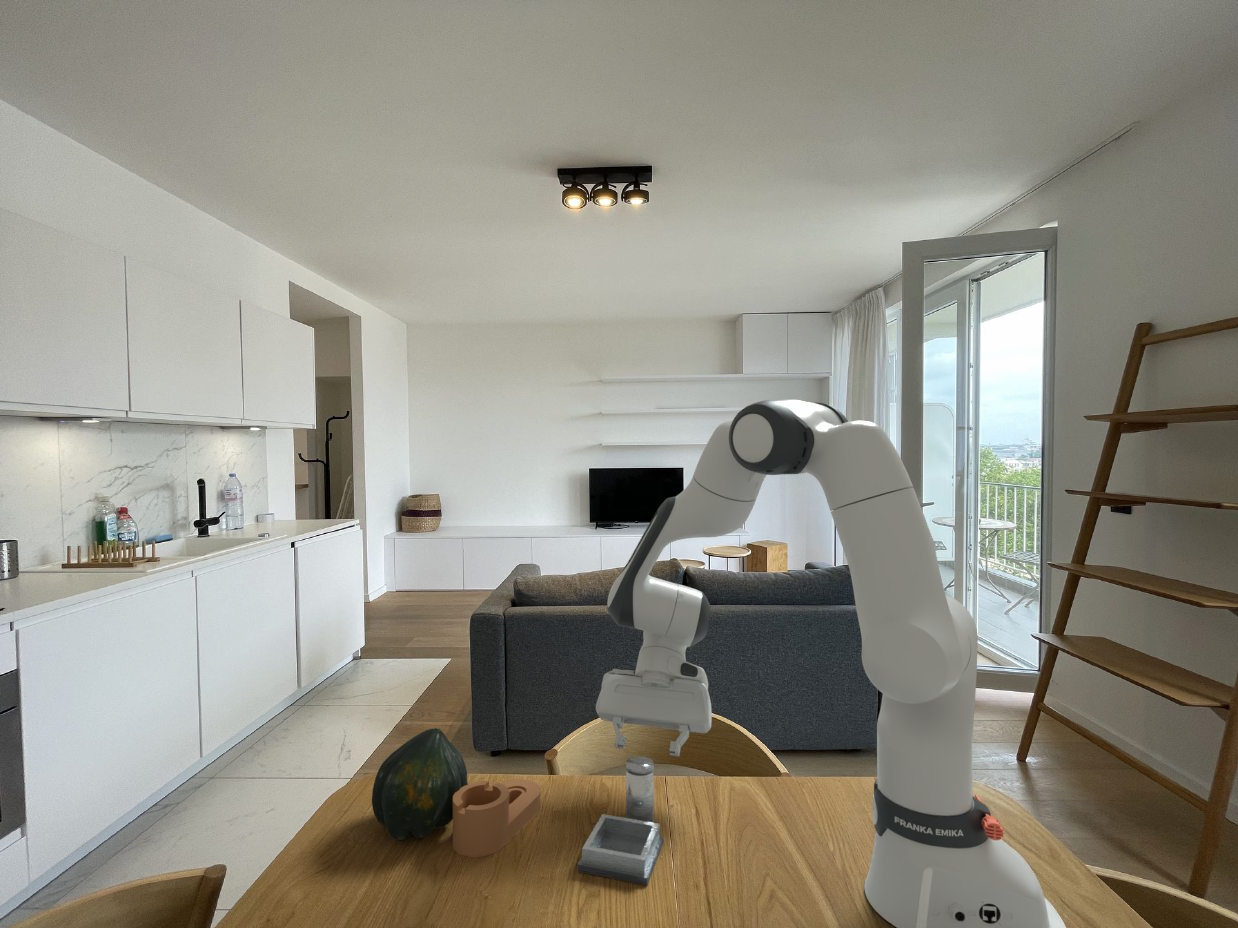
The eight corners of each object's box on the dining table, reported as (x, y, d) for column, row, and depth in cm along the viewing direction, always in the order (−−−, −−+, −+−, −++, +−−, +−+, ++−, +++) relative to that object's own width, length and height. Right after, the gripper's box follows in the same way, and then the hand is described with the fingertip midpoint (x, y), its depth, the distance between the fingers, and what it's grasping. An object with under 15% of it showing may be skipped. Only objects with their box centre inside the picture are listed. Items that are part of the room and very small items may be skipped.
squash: (338, 818, 89) (410, 736, 91) (370, 772, 104) (431, 702, 105) (413, 880, 90) (483, 798, 91) (434, 826, 104) (494, 755, 106)
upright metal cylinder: (656, 813, 100) (656, 758, 100) (649, 829, 96) (649, 770, 96) (630, 809, 101) (630, 754, 101) (622, 824, 97) (622, 766, 97)
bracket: (488, 863, 88) (488, 814, 88) (440, 849, 91) (441, 802, 91) (549, 800, 104) (549, 759, 104) (507, 791, 107) (507, 751, 108)
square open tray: (663, 842, 92) (663, 822, 92) (647, 885, 83) (647, 862, 83) (600, 831, 95) (600, 811, 95) (577, 871, 86) (577, 849, 86)
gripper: (601, 659, 113) (583, 734, 104) (713, 670, 107) (704, 751, 98) (609, 676, 117) (592, 749, 108) (716, 687, 111) (708, 766, 102)
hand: (646, 750), depth 103 cm, fingers open, 8 cm apart
